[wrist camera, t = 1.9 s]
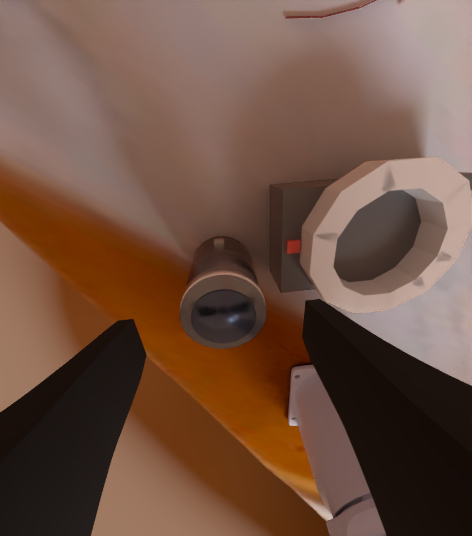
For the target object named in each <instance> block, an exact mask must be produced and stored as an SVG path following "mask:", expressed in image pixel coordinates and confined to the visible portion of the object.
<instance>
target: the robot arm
mask: <svg viewBox="0 0 472 536" xmlns="http://www.w3.org/2000/svg"><path fill="white" fill-rule="evenodd" d="M302 338H303V340H304V343H305V346H306V349H307V352H308V354H309V357H310V360H311V362H312V364H313V365H305V366H296V367H294V368H292V370H291V383H290V398H289V414H288V423H289V425H290V426H296V425H298V427H299V430H300V433H301V437H302V440H303V443H304V446H305V450H306V453H307V456H308V460H309V463H310V466H311V469H312V473H313V476H314V479H315V483H316V486H317V489H318V492H319V494H320V496H321V499H322V501H323V502H324V504H325V506H326V507H327V509H328V510H329V511H330V513H331V514H332V516H333V519H331V520H329V521H327V522H326V524H327V527H328V531H329V534H330V536H472V386H471V385H469V384H466V383H464V382H462V381H460V380H458V379H456V378H454V377H452V376H450V375H448V374H445V373H443V372H441V371H440V370H438V369H436V368H434V367H432V366H430V365H428V364H426V363H424V362H422V361H420V360H418V359H416V358H414V357H412V356H411V355H409V354H407V353H405V352H403V351H402V350H400V349H398V348H396V347H395V346H393V345H391V344H390V343H388V342H386V341H384V340H383V339H381V338H379V337H378V336H376V335H374V334H373V333H371V332H370V331H368V330H366V329H365V328H363V327H362V326H360V325H359V324H357V323H355V322H354V321H352V320H351V319H349V318H348V317H346V316H345V315H343V314H342V313H340V312H339V311H337V310H336V309H334V308H333V307H331V306H330V305H328V304H327V303H325V302H324V301H322V300H320V299H317V300H308V301H306V302H305V313H304V324H303V335H302ZM145 358H146V352H145V349H144V347H143V344H142V341H141V339H140V336H139V333H138V331H137V328H136V325H135V322H134V320H133V319H129V320H120V321H117V322H116V323H114V324H113V325H112V326H110V327H109V328H108V329H107V330H106V331H104V332H103V333H102V334H101V335H99V336H98V337H97V338H96V339H95V340H93V341H92V342H91V343H90V344H89V345H87V346H86V347H85V348H84V349H82V350H81V351H80V352H79V353H78V354H76V355H75V356H74V357H73V358H72V359H70V360H69V361H68V362H67V363H66V364H64V365H63V366H62V367H60V368H59V369H58V370H56V371H55V372H54V373H53V374H51V375H50V376H49V377H48V378H46V379H45V380H44V381H42V382H41V383H40V384H39V385H37V386H36V387H35V388H33V389H32V390H31V391H29V392H28V393H27V394H25V395H24V396H23V397H21V398H20V399H19V400H17V401H16V402H14V403H13V404H12V405H10V406H9V407H7V408H6V409H5V410H3V411H2V412H0V536H91V533H92V529H93V525H94V521H95V518H96V514H97V510H98V506H99V502H100V498H101V495H102V491H103V487H104V484H105V480H106V477H107V473H108V470H109V466H110V463H111V459H112V457H113V453H114V451H115V447H116V445H117V442H118V439H119V436H120V434H121V431H122V429H123V426H124V423H125V420H126V418H127V415H128V412H129V410H130V407H131V404H132V401H133V399H134V396H135V393H136V390H137V388H138V385H139V382H140V379H141V376H142V372H143V367H144V363H145Z"/></svg>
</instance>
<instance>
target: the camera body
mask: <svg viewBox="0 0 472 536" xmlns="http://www.w3.org/2000/svg"><path fill="white" fill-rule="evenodd" d="M471 190H472V173H463V172H457V171H456V170H455V169H453V168H452V167H451V166H449V165H448V164H447V163H445V162H444V161H443V160H441V159H440V158H439V157H421V158H403V159H391V160H379V161H366V162H364V163H363V164H361V165H360V166H358V167H357V168H355V169H354V170H352V171H351V172H349V173H348V174H346V175H345V176H343V177H342V178H340V179H332V180H320V181H309V182H297V183H285V184H273V185H270V271H271V273H272V276H273V278H274V280H275V282H276V284H277V286H278V288H279V290H280V292H281V293H282V292H292V291H302V290H312V289H316V290H317V291H318V293H319V294H320V295H321V297H322V298H323V299H324V300H325V302H327V303H330V304H332V305H335V306H337V307H340V308H342V309H344V310H347V311H349V312H352V313H354V314H356V313H365V312H374V311H384V310H391V309H393V308H395V307H396V306H398V305H400V304H402V303H404V302H406V301H408V300H410V299H412V298H414V297H416V296H418V295H420V294H422V293H424V292H426V291H427V290H428V289H429V288H430V287H431V286H432V285H433V284H434V283H435V282H436V281H437V280H438V279H439V278H440V277H441V276H442V275H443V274H444V273H445V272H446V271H447V270H448V269H449V268H450V267H451V266H452V265H453V264H454V262H455V261H456V260H457V259H458V257H459V254H460V252H461V250H462V247H463V245H464V243H465V240H466V238H467V236H468V233H469V231H470V229H471V226H472V197H471Z"/></svg>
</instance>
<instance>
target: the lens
mask: <svg viewBox="0 0 472 536" xmlns="http://www.w3.org/2000/svg"><path fill="white" fill-rule="evenodd" d="M265 320H266V304H265V299H264V296H263V293H262V290H261V288H260V286H259V284H258V281H257V278H256V275H255V272H254V269H253V266H252V263H251V260H250V257H249V254H248V252H247V250H246V248H245V247H244V246H243V245H242V244H241V243H240V242H239V241H237V240H235V239H233V238H230V237H225V236H218V237H213V238H211V239H208V240H207V241H205V242H204V243H202V244H201V245H200V246H199V248H198V249H197V251H196V253H195V256H194V260H193V264H192V268H191V271H190V275H189V279H188V282H187V286H186V289H185V291H184V294H183V297H182V300H181V305H180V321H181V324H182V327H183V329H184V331H185V332H186V333H187V334H188V335H189V337H191V338H192V339H193V340H194V341H196V342H198V343H200V344H202V345H204V346H207V347H212V348H232V347H236V346H239V345H242V344H244V343H246V342H248V341H250V340H251V339H252V338H254V337H255V336H256V335H257V334H258V333H259V332H260V330H261V329H262V327H263V325H264V323H265Z"/></svg>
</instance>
